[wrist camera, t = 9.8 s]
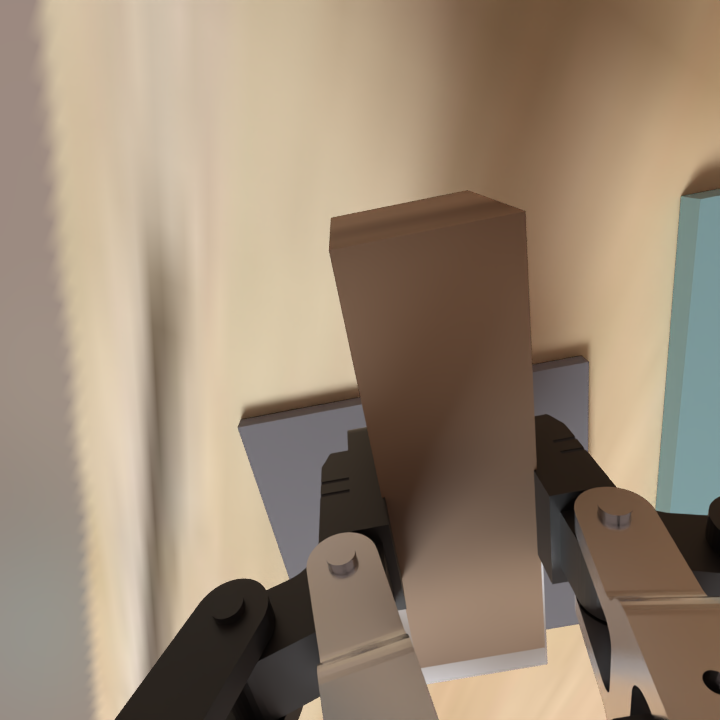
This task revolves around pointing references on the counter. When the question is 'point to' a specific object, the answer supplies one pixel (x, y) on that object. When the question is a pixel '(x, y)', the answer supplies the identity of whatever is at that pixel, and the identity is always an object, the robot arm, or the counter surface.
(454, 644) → the brown long block
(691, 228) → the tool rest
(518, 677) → the counter surface
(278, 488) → the mat
